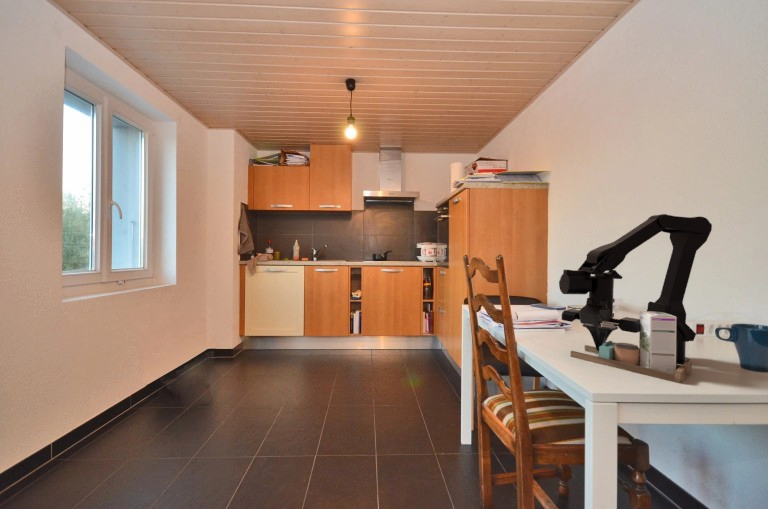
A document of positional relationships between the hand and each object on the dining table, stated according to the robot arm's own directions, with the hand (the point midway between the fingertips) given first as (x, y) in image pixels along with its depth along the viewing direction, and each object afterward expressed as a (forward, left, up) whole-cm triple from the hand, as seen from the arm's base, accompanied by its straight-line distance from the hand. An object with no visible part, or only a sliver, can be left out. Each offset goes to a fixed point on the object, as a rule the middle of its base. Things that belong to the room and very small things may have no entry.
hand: (599, 350), depth 97 cm
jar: (0, +7, -2) cm, 7 cm away
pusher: (0, +3, -2) cm, 3 cm away
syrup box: (0, +13, -2) cm, 13 cm away
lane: (0, +6, -2) cm, 6 cm away
